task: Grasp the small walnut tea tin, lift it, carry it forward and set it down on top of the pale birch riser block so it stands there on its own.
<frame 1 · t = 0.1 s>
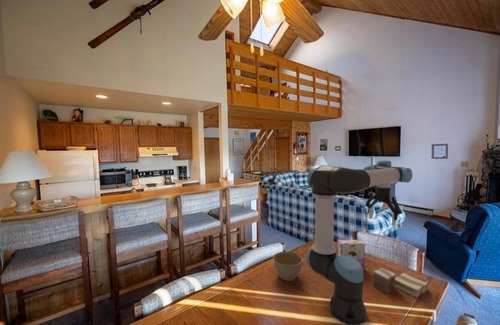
hand: (381, 221, 134), 28 cm above the table, fingers open, 13 cm apart
planter bowl: (287, 276, 128), on the table
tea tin: (384, 287, 117), on the table
candy box: (350, 267, 136), on the table
riser block: (409, 288, 116), on the table
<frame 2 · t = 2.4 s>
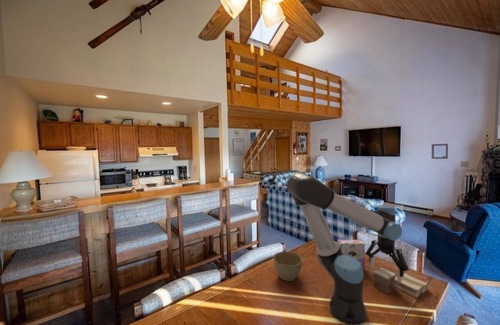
hand: (385, 275, 116), 7 cm above the table, fingers open, 13 cm apart
nothing on the table moved.
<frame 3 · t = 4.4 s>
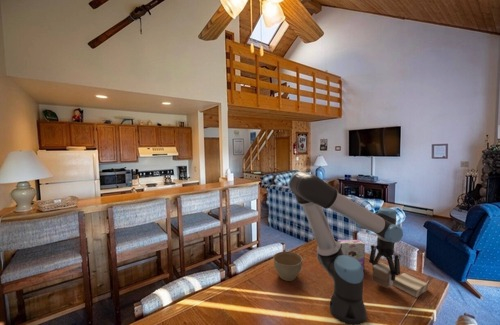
hand: (382, 281, 116), 3 cm above the table, fingers closed on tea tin, 7 cm apart
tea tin: (382, 282, 116), point 3 cm above the table, touching gripper
everything else where it was.
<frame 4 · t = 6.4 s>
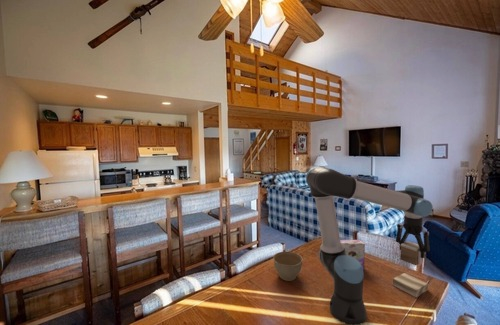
hand: (411, 259, 115), 15 cm above the table, fingers closed on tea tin, 7 cm apart
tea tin: (411, 260, 115), point 15 cm above the table, touching gripper
everything else where it was.
when the fingers open (5 cm above the table, at t = 8.3 s): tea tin stays where it is, point 3 cm above the table.
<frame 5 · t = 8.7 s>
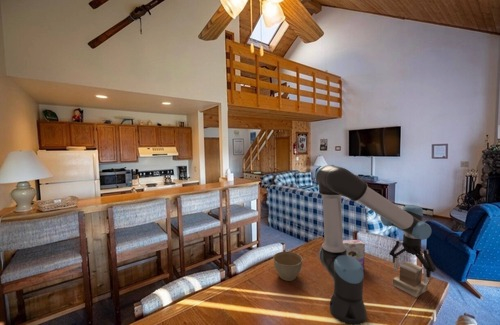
hand: (410, 275, 116), 6 cm above the table, fingers open, 13 cm apart
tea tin: (410, 281, 116), point 3 cm above the table
everything else where it was.
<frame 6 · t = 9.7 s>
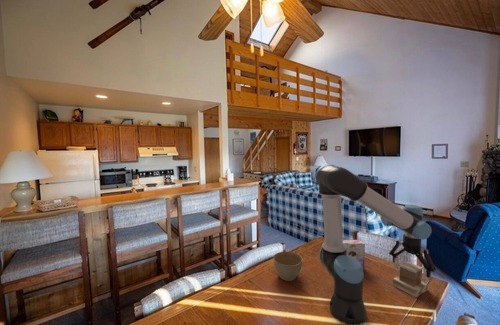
hand: (410, 275, 116), 7 cm above the table, fingers open, 13 cm apart
nothing on the table moved.
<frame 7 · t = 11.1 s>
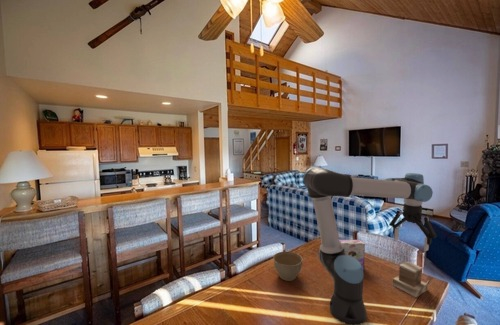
hand: (410, 244, 114), 23 cm above the table, fingers open, 13 cm apart
nothing on the table moved.
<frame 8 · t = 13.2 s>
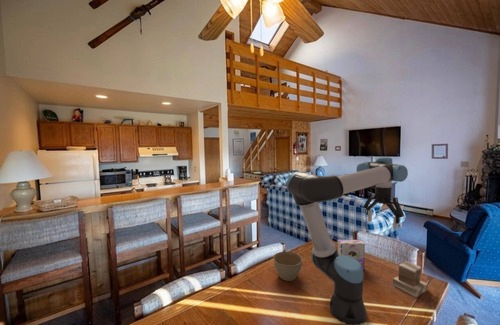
hand: (381, 225, 121), 31 cm above the table, fingers open, 13 cm apart
nothing on the table moved.
at the end: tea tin inside the target area on the riser block (0.4 cm from its centre), point 4.0 cm above the riser block's base; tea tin tilted 0°; the gripper is holding nothing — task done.
